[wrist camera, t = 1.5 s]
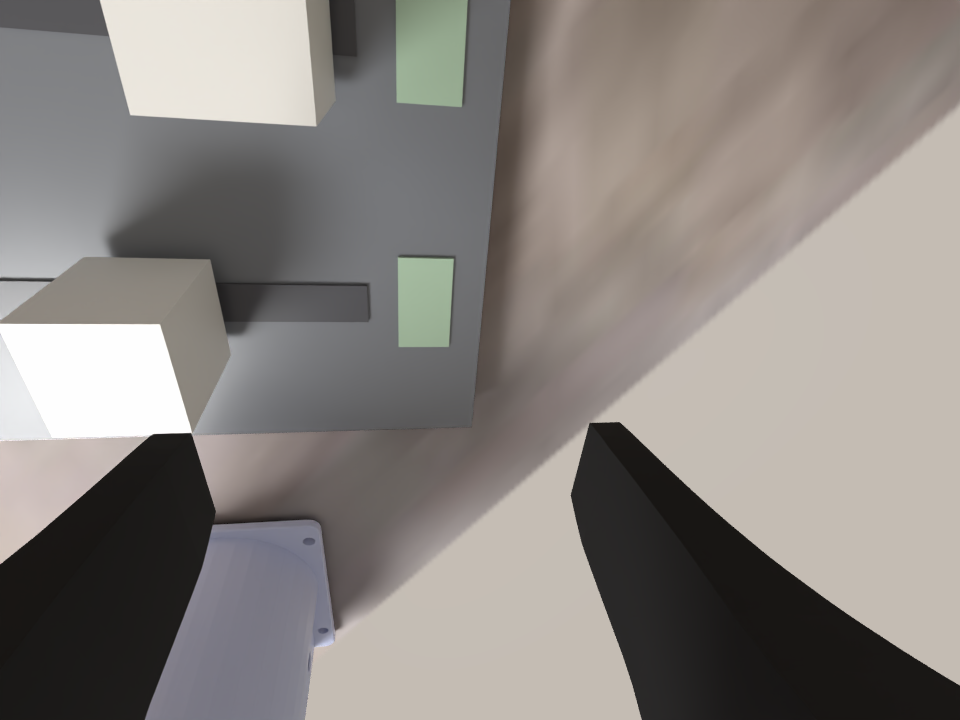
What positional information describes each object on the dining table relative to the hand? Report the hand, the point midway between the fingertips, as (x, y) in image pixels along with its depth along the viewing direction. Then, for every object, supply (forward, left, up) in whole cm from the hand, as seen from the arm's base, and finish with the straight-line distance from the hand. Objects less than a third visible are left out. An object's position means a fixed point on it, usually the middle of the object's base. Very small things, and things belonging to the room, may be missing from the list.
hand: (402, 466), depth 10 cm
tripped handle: (0, +6, -7) cm, 9 cm away
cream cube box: (+7, +3, -7) cm, 10 cm away
